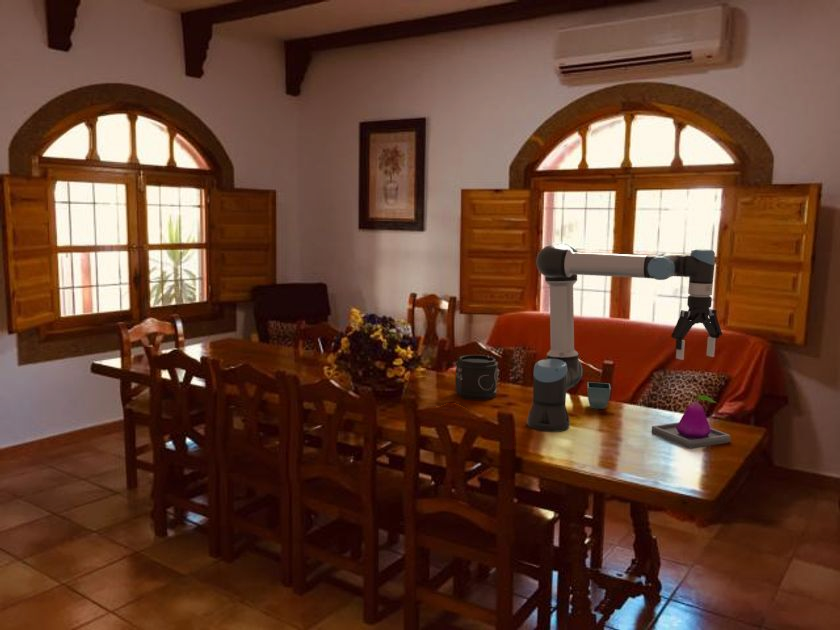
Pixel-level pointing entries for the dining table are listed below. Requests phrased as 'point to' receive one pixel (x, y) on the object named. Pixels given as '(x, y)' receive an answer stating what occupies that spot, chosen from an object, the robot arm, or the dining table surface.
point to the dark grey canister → (476, 377)
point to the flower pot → (598, 394)
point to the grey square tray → (672, 435)
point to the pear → (695, 420)
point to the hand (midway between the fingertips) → (695, 357)
